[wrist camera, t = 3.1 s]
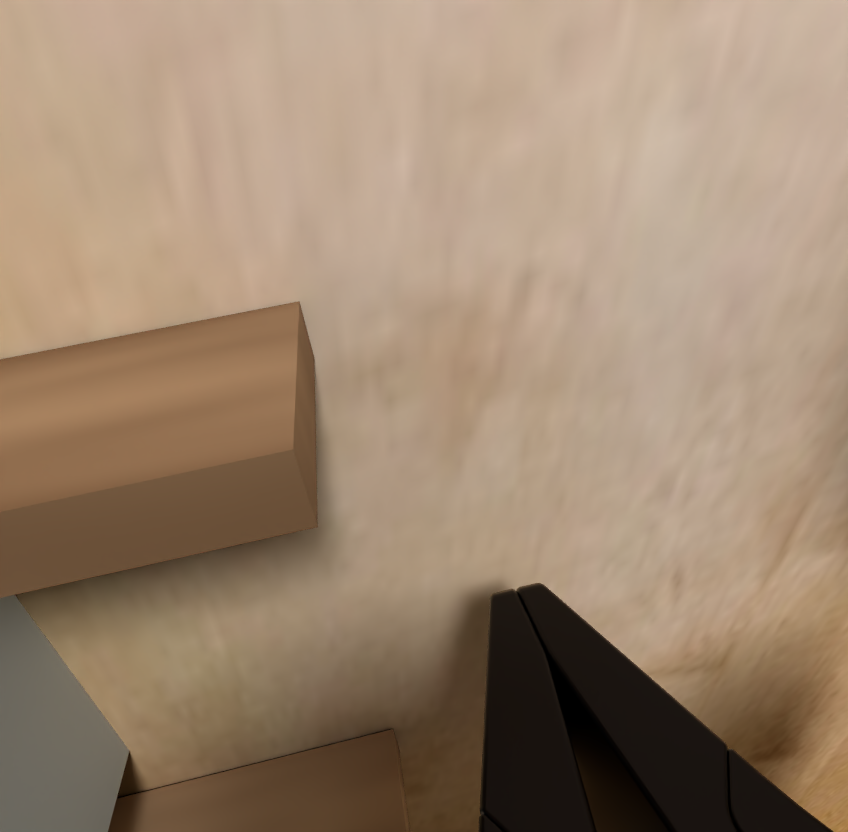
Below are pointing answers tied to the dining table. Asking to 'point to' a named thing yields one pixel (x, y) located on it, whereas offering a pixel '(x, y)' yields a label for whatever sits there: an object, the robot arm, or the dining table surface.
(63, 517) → the wooden compartment tray
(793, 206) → the dining table surface
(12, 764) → the cube
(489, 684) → the robot arm
